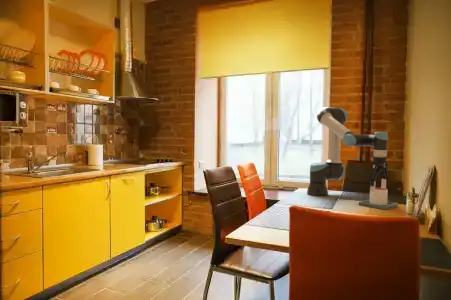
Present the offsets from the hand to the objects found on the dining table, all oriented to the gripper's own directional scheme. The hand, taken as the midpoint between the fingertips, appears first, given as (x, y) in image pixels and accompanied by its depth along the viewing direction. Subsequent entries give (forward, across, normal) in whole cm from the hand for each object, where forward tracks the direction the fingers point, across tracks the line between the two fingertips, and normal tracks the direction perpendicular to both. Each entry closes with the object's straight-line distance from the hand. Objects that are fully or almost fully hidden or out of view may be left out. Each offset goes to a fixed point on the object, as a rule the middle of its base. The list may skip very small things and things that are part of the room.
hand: (378, 190), depth 206 cm
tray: (+10, 0, -1) cm, 10 cm away
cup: (+9, 0, -1) cm, 9 cm away
